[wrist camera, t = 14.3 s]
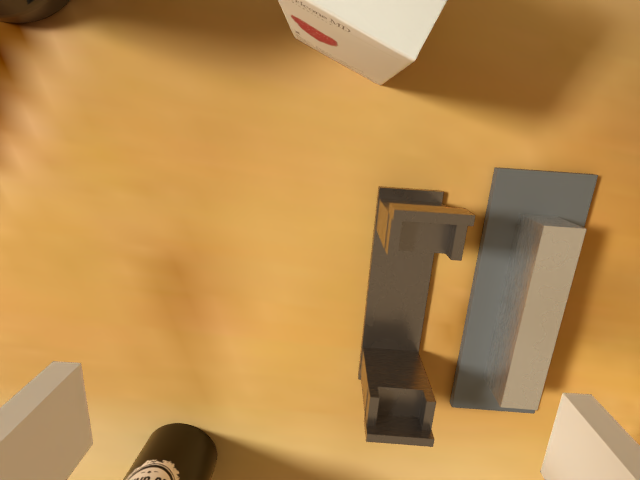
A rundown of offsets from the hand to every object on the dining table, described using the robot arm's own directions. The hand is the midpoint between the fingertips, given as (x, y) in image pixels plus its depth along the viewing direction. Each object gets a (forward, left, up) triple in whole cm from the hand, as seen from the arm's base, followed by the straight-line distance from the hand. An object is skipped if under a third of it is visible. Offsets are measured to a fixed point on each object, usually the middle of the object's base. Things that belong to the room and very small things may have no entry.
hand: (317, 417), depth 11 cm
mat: (+8, +20, -28) cm, 35 cm away
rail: (+8, +20, -27) cm, 35 cm away
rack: (+8, +8, -28) cm, 30 cm away
